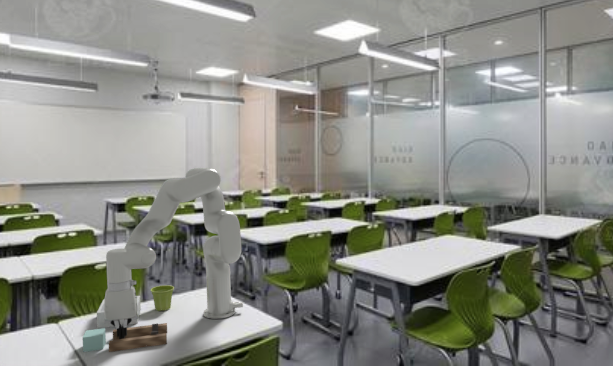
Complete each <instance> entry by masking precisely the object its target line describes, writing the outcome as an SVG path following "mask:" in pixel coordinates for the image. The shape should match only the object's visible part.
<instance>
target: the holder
mask: <svg viewBox="0 0 613 366" xmlns="http://www.w3.org/2000/svg"><path fill="white" fill-rule="evenodd" d="M136 298H137V314H138V319H137V320H134V321H131V322H130V323H129V324H128V325H130V326H131V325H138V323H139V319H140V314H141V310H142V308H141V307H142V306H141V295H136ZM104 302H105V298H104V299H103V300H102V302H101V303H100V305H99V308H98V310H97V311H96V325H97V326H96V327H97V328H96V329H103V328H105V329H106V328H114V327H115V326H113V325H112V324H106V323H104V320H105V317H104ZM123 322H124V319H120V324H121V326H122V325H123ZM128 325H127V326H128Z"/></svg>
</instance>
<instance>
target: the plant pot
mask: <svg viewBox="0 0 613 366" xmlns="http://www.w3.org/2000/svg"><path fill="white" fill-rule="evenodd" d="M174 289H175V286H173V285H168V284H167V285H166V284H165V285H164V284H163V285H158V286H154V287H152V288H151V289H150V292H151V294H152V298H153V304H154V309H155V311H159V312H161V311H164V312H165V311H167V310H170V309H171V306H172V296H173V293H174Z"/></svg>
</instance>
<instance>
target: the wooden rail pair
mask: <svg viewBox="0 0 613 366" xmlns="http://www.w3.org/2000/svg"><path fill="white" fill-rule="evenodd" d="M167 335H168V322H164V323H152V324H148V325H141V326H140V325H139V326H132V327H127V336H125V338H124V339H119V337H117V329H116V328H115V329H113V330H112V340H109V341H108V353H111V352H119V351H125V350H127V351H128V350H132V349H133V350H134V349H135V350H136V349H139V348H147V347H154V346H162V345H167V344H168V337H167Z"/></svg>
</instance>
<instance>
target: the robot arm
mask: <svg viewBox="0 0 613 366" xmlns="http://www.w3.org/2000/svg"><path fill="white" fill-rule="evenodd" d="M221 181H222V180H221V175H220V173H219V172H218V171H217V170H215V169H213V168H210V167H209V168H208V167H206V168H203V167H202V168H201V167H197V168H195V167H193V168H192V169H189V170H188V171H187V172H186V174H185V177H183V178H175V177H174V178H169V179H166V180H165V181H164V182H163V183H162V185H161V187H160V188H159V190H158V192H157V194H156V196H155V199H154V201H153V202H152V205H151V206H150V208H149V210H148V213H146V216H144V217H143V219H141V221H140V222H139V223H138V224H137V225H136V226H135V228H134V229H133V230H132V232H131V234H130V236H129V238H128V240H127V241H126V244H125V246H124V247H123V248H122V247H121V248H114V249H110V250H109V251H107V252H106V254H105V255H106V256H105V261H106V280H107V289H105V294H104V295H105V296H104V299H105V302H104V317H105V320H104V323H106V324H112V325H113V326H114V327H115V329H117V337H119V339H124V338H125V336H127V328H128V324H129V323H130V322H131V321H134V320H137V319H138V314H137V298H136V296H137V292H136V289H135V288H136V287H135V286H134V285H137V280H133V279H132V270H133V269H134V270H136V269H137V270H138V269H146V268H149V267H151V266H153V265H154V263H155V262H156V261H157V254H156V252H155V250H154V249H152V247H149V246H148V244H149V243H150V241H151V239H152V238H153V237H154V236H155V235H156V234H157V232H159V231H161V230H162V229H164V228H166V227H168V226H170V224H171V222H172V220H173V219H174V216H175V214H176V211H177V209H178V207H179V205H180V203H188V202H191V201H194V200H196V199H199V198H200V199H201V202H202V210H203V211H202V213H203V223H204V228H205V230H206V231H207V232H209V233H211V234H216V235H212V236H210V237H208V238H207V239H206V240H205V241H204V243H203V247H202V251H203V256H204V261H205V262H204V263H205V272H206V273H205V275H206V276H205V277H206V304H207V305H206V308H205V310H203V316H204V318H208V319H210V320H211V319H212V320H216V319H217V320H219V319H226V318H229V317H231V316H234V314H235V313H236V309H237V308H243V307H244V304H243V302H239V301H235V302H234V301H233V300H232V290H231V288H232V287H231V266H230V264H234V263H236V262H238V260H239V259H240V258H241V254H242V237H241V235H242V234H241V227H240V226H241V225H240V221H239V218H238V217H237V215H236V214H235V213H234V212H232V211H229V210H226V206H225V198H224V193H223V191H222V189H221V187H220V184H221ZM120 319H124V322H123V325H122V326H121V324H120ZM138 320H139V319H138Z"/></svg>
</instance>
